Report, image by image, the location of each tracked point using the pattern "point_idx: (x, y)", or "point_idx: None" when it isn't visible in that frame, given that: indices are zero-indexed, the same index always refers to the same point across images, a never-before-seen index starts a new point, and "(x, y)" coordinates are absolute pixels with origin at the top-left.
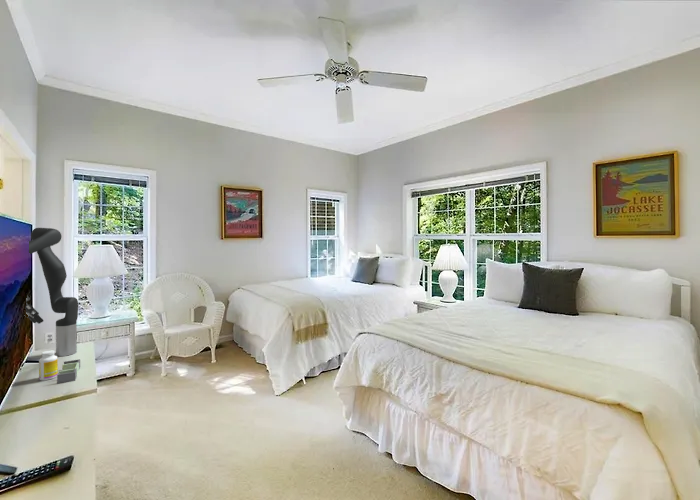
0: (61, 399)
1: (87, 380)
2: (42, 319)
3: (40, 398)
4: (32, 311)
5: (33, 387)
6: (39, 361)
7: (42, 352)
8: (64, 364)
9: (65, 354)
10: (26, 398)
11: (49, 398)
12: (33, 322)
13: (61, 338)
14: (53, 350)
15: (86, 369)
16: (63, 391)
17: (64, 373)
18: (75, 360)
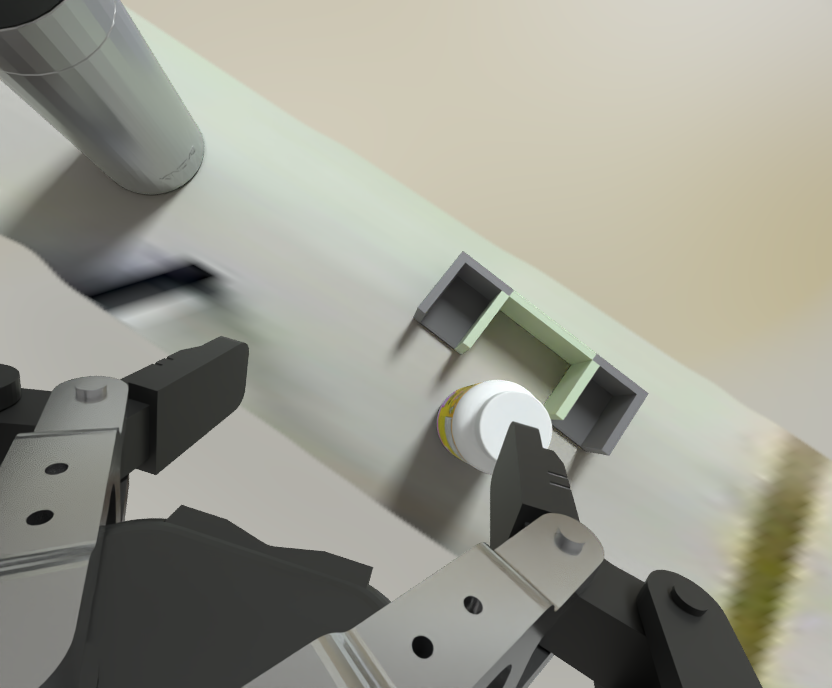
0: (785, 551)
1: (670, 374)
2: (541, 444)
3: (697, 583)
4: (521, 673)
5: None
6: (492, 474)
7: (491, 453)
8: (472, 338)
9: (189, 173)
10: None
11: (731, 566)
12: (231, 411)
13: (109, 112)
14: (513, 392)
15: (522, 281)
16: (705, 495)
17: (617, 425)
18: (457, 272)
